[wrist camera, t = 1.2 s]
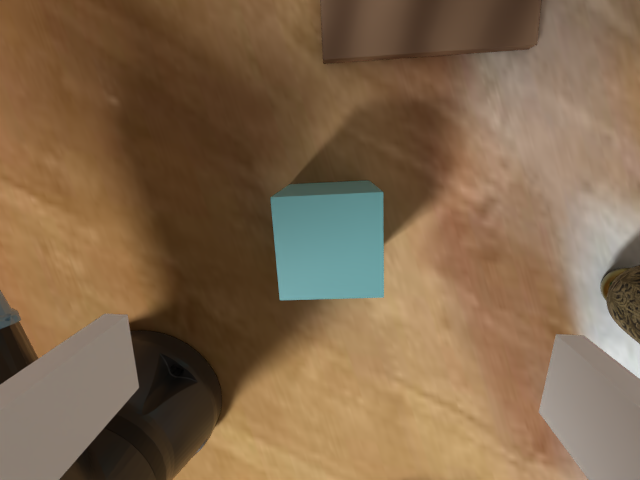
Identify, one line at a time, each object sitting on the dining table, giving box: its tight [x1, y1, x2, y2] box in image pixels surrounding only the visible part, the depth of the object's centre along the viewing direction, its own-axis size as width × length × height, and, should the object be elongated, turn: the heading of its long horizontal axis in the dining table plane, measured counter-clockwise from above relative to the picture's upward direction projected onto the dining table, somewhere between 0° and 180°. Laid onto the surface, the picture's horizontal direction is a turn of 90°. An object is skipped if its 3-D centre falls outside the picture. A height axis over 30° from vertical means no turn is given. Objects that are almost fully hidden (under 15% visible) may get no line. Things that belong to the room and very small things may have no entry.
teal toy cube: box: [270, 180, 384, 300], centre depth 26 cm, size 7×7×9 cm
